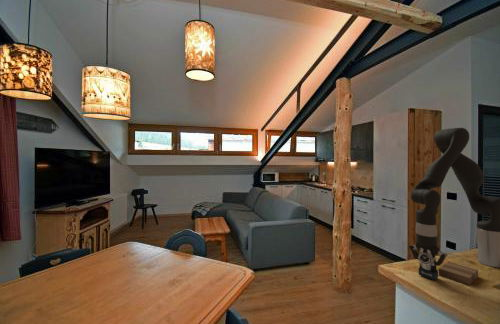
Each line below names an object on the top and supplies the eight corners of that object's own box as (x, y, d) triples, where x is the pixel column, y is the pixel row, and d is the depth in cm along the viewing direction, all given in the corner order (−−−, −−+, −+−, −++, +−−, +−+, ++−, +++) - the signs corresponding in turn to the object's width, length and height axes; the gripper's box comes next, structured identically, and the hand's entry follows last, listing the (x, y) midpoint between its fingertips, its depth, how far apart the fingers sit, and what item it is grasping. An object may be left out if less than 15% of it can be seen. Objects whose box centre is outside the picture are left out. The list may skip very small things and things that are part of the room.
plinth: (448, 267, 104) (448, 261, 104) (478, 276, 95) (477, 270, 95) (438, 275, 98) (438, 268, 98) (469, 285, 89) (469, 278, 89)
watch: (416, 275, 97) (415, 251, 97) (424, 270, 101) (424, 247, 101) (432, 281, 92) (431, 256, 92) (440, 276, 96) (439, 251, 96)
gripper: (450, 235, 92) (451, 275, 92) (412, 227, 104) (413, 263, 104) (443, 239, 88) (445, 281, 88) (404, 230, 100) (406, 267, 100)
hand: (428, 271), depth 96 cm, fingers closed on watch, 3 cm apart
